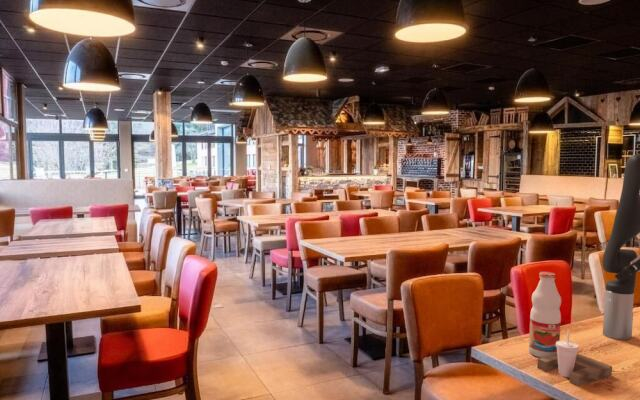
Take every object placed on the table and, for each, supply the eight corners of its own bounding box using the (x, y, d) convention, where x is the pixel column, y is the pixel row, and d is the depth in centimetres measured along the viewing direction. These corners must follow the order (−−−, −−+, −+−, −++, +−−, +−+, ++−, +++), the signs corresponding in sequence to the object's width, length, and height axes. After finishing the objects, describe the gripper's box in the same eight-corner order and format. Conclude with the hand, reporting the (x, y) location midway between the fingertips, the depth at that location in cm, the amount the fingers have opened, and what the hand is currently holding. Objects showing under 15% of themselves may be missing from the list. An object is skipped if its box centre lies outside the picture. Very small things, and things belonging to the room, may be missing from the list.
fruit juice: (552, 349, 172) (556, 270, 169) (563, 360, 162) (567, 277, 160) (524, 348, 172) (528, 269, 170) (534, 358, 163) (538, 276, 160)
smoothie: (556, 377, 149) (559, 332, 148) (551, 369, 155) (554, 326, 154) (579, 380, 147) (582, 335, 146) (574, 371, 153) (576, 328, 152)
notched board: (570, 359, 163) (570, 350, 163) (611, 375, 151) (612, 366, 150) (537, 367, 156) (537, 358, 155) (578, 386, 143) (578, 376, 143)
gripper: (663, 230, 147) (616, 261, 156) (654, 237, 137) (605, 270, 146) (683, 250, 144) (634, 281, 153) (676, 258, 134) (624, 291, 143)
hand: (620, 275), depth 150 cm, fingers open, 8 cm apart
